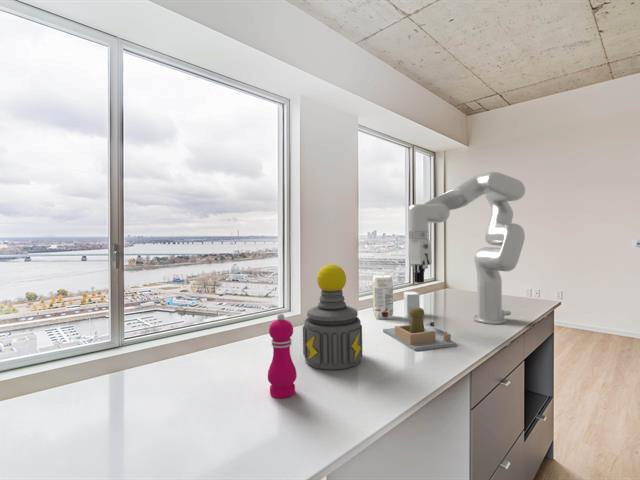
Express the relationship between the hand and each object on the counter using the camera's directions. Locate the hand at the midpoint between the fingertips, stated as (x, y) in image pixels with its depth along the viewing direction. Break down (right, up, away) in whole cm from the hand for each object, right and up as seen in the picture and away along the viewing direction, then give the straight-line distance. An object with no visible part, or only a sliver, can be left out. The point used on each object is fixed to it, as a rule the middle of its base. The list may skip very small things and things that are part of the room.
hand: (419, 282), depth 144 cm
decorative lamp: (-35, -21, -30) cm, 51 cm away
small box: (+3, -19, +25) cm, 32 cm away
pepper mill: (-49, -22, -52) cm, 75 cm away
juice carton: (-10, -19, +23) cm, 31 cm away
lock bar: (+4, -18, -11) cm, 22 cm away
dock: (-3, -20, -10) cm, 22 cm away
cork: (-4, -19, -13) cm, 23 cm away
